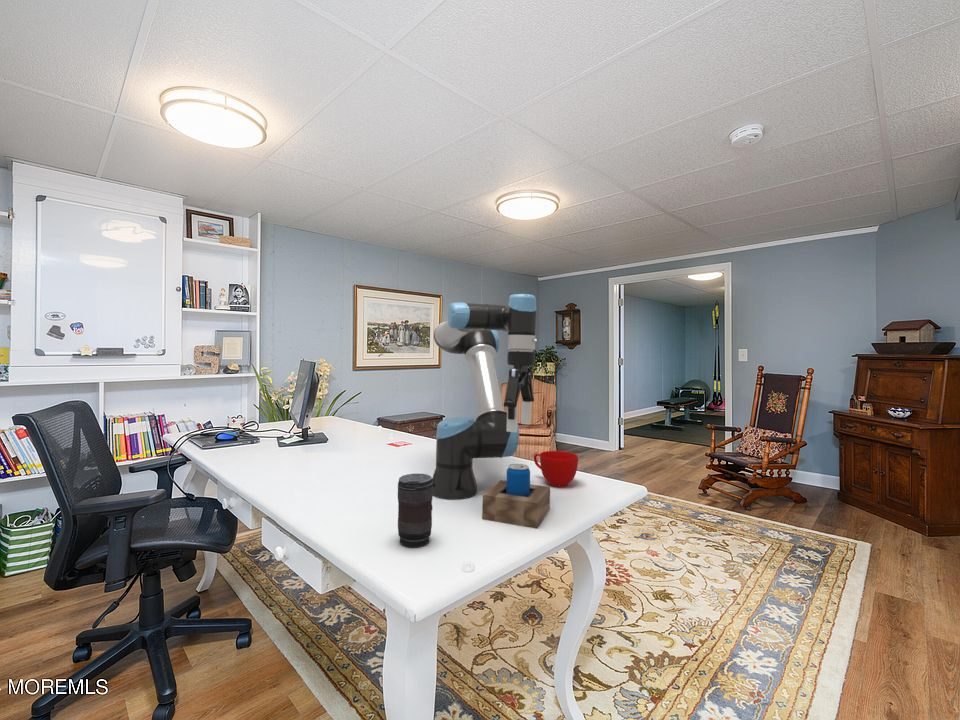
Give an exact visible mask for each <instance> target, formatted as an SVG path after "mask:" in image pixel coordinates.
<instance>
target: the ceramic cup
mask: <svg viewBox="0 0 960 720" xmlns="http://www.w3.org/2000/svg"><path fill="white" fill-rule="evenodd" d="M537 457H539V462H538V460H537ZM533 462H534V464H535V466H536V467H537V468H538V469H540V471H541V473H542V477H543V478H544V479H545V481H546V482H547V483H548V485H549V486H552V487H555V488H556V487H558V488H559V487H560V488H565V487H568V486H569V484H570V483H571V482H572V481H573V480H574V478H575V477H576V474H577V471H578V465H579V455H577V454H576V453H573V452H569V451H561V450H548V451H547V450H546V451H542V452H540V453H536V454H534V455H533ZM539 463H540V464H539Z"/></svg>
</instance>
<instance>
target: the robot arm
mask: <svg viewBox="0 0 960 720" xmlns="http://www.w3.org/2000/svg"><path fill="white" fill-rule="evenodd" d="M537 309H538V308H537V298H536V296H535V295H534V294H528V293H514V294H511V295H510V296H509V299H508V304H489V303H488V304H487V303H476V302H475V303H474V302H473V303H471V302H464V301H463V302H462V301H461V302H452V303H450V304H449V307H448V311H447V320H446V321H443V322H441V323H439V324H438V325H437V326H436V327H435V329H434V331H433V340H434V342H435V344H436V345H437V347H438V348H439V349H440V350H442V351H444V352H446V353H450V354H457V355H464V358H465V360H466V361H467V362H468V363H470V368H471V375H472V379H473V381H472V382H473V386H474V391H475V399H476V405H477V410H478V416H476V418H475V420H474V418H473V417H472V416H455V417H450V418H445V419H443V420H441V421H439V422H438V424H437V425H436V426H437V427H436V435H435V438H436V444H435V445H436V447H435V448H436V449H435V450H436V451H435V456H436V457H435V468H434V472H433V475H432V476H431V477H432V482H433V497H437V498H439V499H446V500H462V499H468V498H471V497H474V496H476V495H477V494H478V483H477V479H476V476H475V472H474V469H473V459H486V458H487V459H488V458H489V459H490V458H491V459H495V458H498V459H499V458H500V459H502V458H508V457H512V456H515V453H517V450H518V447H519V442H520V428H519V427H520V426H519V423H518V415H519V414H518V413H519V412H518V411H519V407H518V401H519V397H520V396H521V399H522V401H521V405H520V406H521V407H520V424H521V425H529V426H530V425H531V423H532V422H531V421H532V420H531V419H532V416H531V415H532V402H535V397H534V389H533V380H532V379H533V378H532V368H531V367H532V366H535V363H536V362H535V361H536V353H535V352H533V351H535V349H536V343H537V342H538V340H537V338H536V325H537V323H536V322H537ZM498 331H502V332H507V350H509V351H508V352H507V358H506V359H507V365H509V366H513V368H509V369H508V379H507V387H506V391H505V397H504V402H503V400H502V399H503V398H502V396H501V395H502V394H501V391H500V386H499V380H498V377H497V376H498V375H497V370H496V366H495V361H494V359H495V356H496V355H497V354H498V352H499V349H500V341H499V340H500V337H499V332H498ZM528 366H531V367H528ZM504 407H505V408H506V410H504Z"/></svg>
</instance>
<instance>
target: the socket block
mask: <svg viewBox="0 0 960 720" xmlns="http://www.w3.org/2000/svg"><path fill="white" fill-rule="evenodd" d="M506 481H507V480H499V481H498V482H497V483H495V484H494V485H493V486H492V487H491V488H489V489H488V490H487V491H486V492H484V493H483V494H482V506H481V507H482V508H481V509H482V511H481V512H482V513H481V514H482V515H481V519H482V520H484V521H491V522H498V523H502V524H503V523H504V524H509V525H515V526H519V527H520V526H521V527H525V528H531V529H532V528H533V529H539V527H540V524H542V522H543V520H544V519H545V518H546V516H547V514H548V513H549V511H550V510H551V506H550V505H551V486H547V485H546V486H545V485H539V484H532V483H530V494H529V495H528V496H527V497H526V496H519V495H512V494H506Z"/></svg>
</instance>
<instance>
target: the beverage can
mask: <svg viewBox="0 0 960 720" xmlns="http://www.w3.org/2000/svg"><path fill="white" fill-rule="evenodd" d="M505 481H506V494H512V495H519V496H526V497H527V496H528V495H529V494H530V484H531V470H530V467H529V465H527V464H523V463H512V464H508V468H507V469H506V480H505Z"/></svg>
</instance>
